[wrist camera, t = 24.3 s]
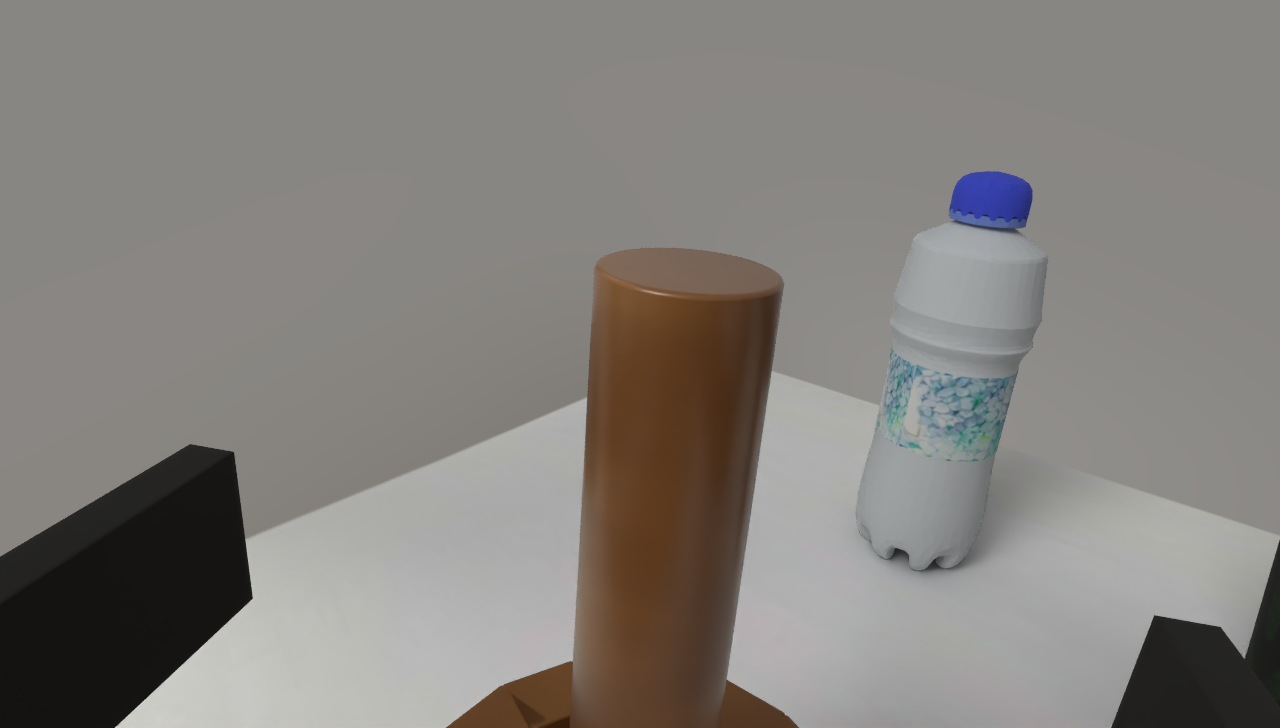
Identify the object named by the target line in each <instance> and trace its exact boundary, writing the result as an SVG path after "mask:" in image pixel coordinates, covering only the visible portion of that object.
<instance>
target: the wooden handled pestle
mask: <svg viewBox="0 0 1280 728" xmlns="http://www.w3.org/2000/svg"><path fill="white" fill-rule="evenodd" d="M783 288H784V283H783V279H782V277H781V276H780V275H779V274H778V273H777V272H776V271H774V270H772V269H770V268H769V267H766V266H764V265H762V264H759V263H757V262H754V261H751V260H748V259H744V258H741V257H737V256H732V255H727V254H722V253H716V252H710V251H702V250H693V249H679V248H641V249H631V250H624V251H619V252H615V253H612V254H609V255H606V256H604V257H602V258H600V259H599V260H598V261H597V263H596V266H595V268H594V287H593V306H592V323H591V342H590V360H589V380H588V397H587V415H586V434H585V452H584V471H583V489H582V507H581V526H580V544H579V563H578V581H577V600H576V618H575V636H574V655H573V673H572V692H571V710H570V728H720V721H721V714H722V707H723V700H724V694H725V687H726V680H727V673H728V666H729V659H730V652H731V645H732V639H733V632H734V625H735V618H736V611H737V604H738V597H739V591H740V584H741V577H742V570H743V563H744V556H745V549H746V542H747V536H748V529H749V522H750V515H751V508H752V501H753V494H754V488H755V481H756V474H757V467H758V460H759V453H760V446H761V439H762V433H763V426H764V419H765V412H766V405H767V398H768V391H769V385H770V378H771V371H772V363H773V357H774V350H775V343H776V336H777V329H778V322H779V316H780V309H781V301H782V295H783Z"/></svg>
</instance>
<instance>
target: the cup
mask: <svg viewBox="0 0 1280 728" xmlns="http://www.w3.org/2000/svg"><path fill="white" fill-rule="evenodd" d="M1245 661H1246V662H1247V663H1248V665H1249V666H1250V667H1251V669H1252V670H1253V671H1254V673H1255V674H1256V675H1257V677H1258V678H1259V679H1260V681H1261V682H1262V683H1263V685H1264V686H1265V687H1266V689H1267V690H1268V691H1269V693H1270V694H1271V696H1272V697H1273V698H1274V700H1275V701H1276V702H1277V704H1278V705H1279V706H1280V541H1279V544H1278V548H1277V551H1276V554H1275V558H1274V561H1273V565H1272V568H1271V572H1270V575H1269V578H1268V582H1267V585H1266V589H1265V592H1264V596H1263V599H1262V602H1261V606H1260V609H1259V613H1258V616H1257V620H1256V623H1255V626H1254V630H1253V633H1252V637H1251V640H1250V644H1249V647H1248V650H1247V654H1246V657H1245Z"/></svg>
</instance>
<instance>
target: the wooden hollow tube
mask: <svg viewBox="0 0 1280 728" xmlns="http://www.w3.org/2000/svg"><path fill="white" fill-rule="evenodd" d="M572 673H573V662H572V661H570V662H567V663H564V664H561V665H558V666H555V667H553V668H550V669H547V670H544V671H541V672H538V673H535V674H533V675H530V676H527V677H524V678H521V679H518V680H515V681H513V682H510V683H507V684H504V685H503V686H500V687H499V688H497V689H496V690H495V691H493V692H492V693H491V694H489V695H488V696H487V697H485V698H484V699H483V700H482V701H480V702H479V703H478V704H476V705H475V706H474V707H472V708H471V709H470V710H468V711H467V712H466V713H465V714H463V715H462V716H461V717H459V718H458V719H457V720H455V721H454V722H453V723H452V724H450V725H449V726H448V727H446V728H570V710H571V692H572ZM720 728H799V727H798V726H797V725H796V724H795V723H794V722H793V721H792V720H791V719H790V718H789V717H788V716H787V715H785V714H784V713H783V712H782V711H780V710H779V709H777V708H775V707H773V706H772V705H770V704H768V703H766V702H765V701H763V700H761V699H759V698H758V697H756V696H754V695H752V694H751V693H749V692H747V691H745V690H744V689H742V688H740V687H738V686H737V685H735V684H733V683H731V682H730V681H728V680H726V687H725V694H724V700H723V707H722V714H721V721H720Z"/></svg>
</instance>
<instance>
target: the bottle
mask: <svg viewBox="0 0 1280 728" xmlns="http://www.w3.org/2000/svg"><path fill="white" fill-rule="evenodd" d="M1031 203H1032V189H1031V187H1030V185H1029V183H1027V182H1026V181H1025V180H1023V179H1021V178H1019V177H1017V176H1013V175H1010V174H1006V173H1002V172H989V171H988V172H987V171H986V172H975V173H970V174H968V175H965V176H963V177H962V178H961V179H960V180H959V181H958V182H957V184H956V186H955V188H954V191H953V195H952V200H951V204H950V210H949V216H950V218H951V219H954V220H955V221H952V222H949V223H946V224H944V225H941V226H938V227H935V228H932V229H929V230H926V231H924V232H921V233H919V234H917V235H916V236H915V238H914V239H913V242H912V245H911V248H910V251H909V255H908V257H907V260H906V263H905V266H904V269H903V272H902V274H901V277H900V280H899V283H898V286H897V288H896V291H895V293H894V295H893V298H894V311H893V315H892V317H891V318H890V324H891V327H892V330H893V334H894V341H893V344H892V349H891V354H890V359H889V364H888V369H887V374H886V379H885V383H884V388H883V394H882V398H881V403H880V408H879V413H878V418H877V423H876V429H875V434H874V437H873V441H872V445H871V448H870V451H869V455H868V458H867V461H866V465H865V468H864V472H863V476H862V480H861V484H860V488H859V493H858V500H857V508H856V519H857V526H858V529H859V532H860V534H861V535H862V537H864V538H865V539H866V540H869V541H872V545H873V548H874V550H875V552H876V553H877V554H878V555H879V556H881V557H883V558H884V559H889V558H890V557H892V555H893V553H894V550H895V548H898V549H901V550H903V551H906V552H907V553H908V554H909V566H910V567H911V568H912V569H913V570H920V571H921V570H924V569H926V568H927V567H928V566H929V565H930V564H931V562H932V561H933V560H934V559H936V563H937V564H938V565H939V566H940V567H941V568H945V569H947V568H952V567H953V566H955V565H957V564H959V563H960V562H961V561H962V560H963V559H964V557H965V556H966V555H967V553H968V551H969V549H970V548H971V546H972V544H973V542H974V541H975V539H976V537H977V535H978V533H979V530H980V527H981V524H982V520H983V517H984V512H985V506H986V501H987V496H988V490H989V484H990V478H991V472H992V466H993V462H994V458H995V454H996V451H997V448H998V444H999V440H1000V436H1001V432H1002V429H1003V425H1004V422H1005V418H1006V414H1007V410H1008V407H1009V403H1010V399H1011V395H1012V392H1013V388H1014V384H1015V380H1016V377H1017V373H1018V368H1019V364H1020V362H1021V360H1022V359H1023V357H1024V356H1025V355H1026V354H1027V353H1028V352H1029V351H1030V350H1031V349H1032V348H1033V341H1032V339H1033V337H1034V334H1035V332H1036V330H1037V328H1038V327H1039V325H1040V323H1041V320H1042V305H1043V295H1044V286H1045V278H1046V270H1047V262H1048V256H1047V254H1046V253H1045V251H1044V250H1043V249H1041V248H1040V247H1039V246H1038V245H1036V244H1035V243H1033V242H1032V241H1031V240H1029V239H1028V238H1027V237H1025V236H1024V235H1023V234H1021V233H1020V232H1019V231H1017V230H1016V229H1015V228H1022V227H1025V226H1026V222H1027V218H1028V215H1029V211H1030V207H1031Z"/></svg>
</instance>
